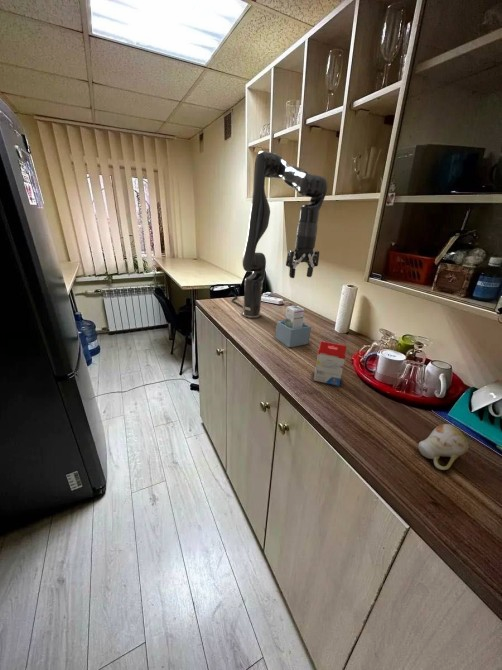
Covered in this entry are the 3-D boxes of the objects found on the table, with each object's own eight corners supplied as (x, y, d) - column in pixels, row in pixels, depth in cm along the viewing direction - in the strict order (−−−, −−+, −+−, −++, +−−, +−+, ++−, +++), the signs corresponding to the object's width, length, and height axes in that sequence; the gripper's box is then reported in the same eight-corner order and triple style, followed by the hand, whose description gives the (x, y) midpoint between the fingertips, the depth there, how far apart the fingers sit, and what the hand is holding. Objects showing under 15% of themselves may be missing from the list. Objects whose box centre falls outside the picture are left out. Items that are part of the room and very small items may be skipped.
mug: (405, 447, 66) (425, 411, 66) (432, 459, 69) (451, 425, 69) (431, 466, 59) (453, 426, 59) (461, 479, 62) (482, 441, 61)
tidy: (275, 337, 123) (277, 321, 120) (294, 334, 128) (296, 318, 125) (288, 347, 114) (291, 330, 111) (308, 343, 119) (311, 326, 116)
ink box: (339, 379, 94) (348, 340, 88) (339, 386, 89) (348, 346, 84) (314, 373, 96) (321, 335, 90) (312, 380, 92) (319, 341, 86)
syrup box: (301, 340, 120) (305, 308, 114) (290, 342, 117) (294, 310, 111) (293, 335, 124) (297, 304, 119) (282, 337, 122) (286, 306, 116)
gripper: (314, 234, 110) (308, 274, 117) (285, 233, 104) (280, 276, 110) (327, 236, 104) (320, 278, 111) (297, 235, 98) (291, 280, 104)
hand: (300, 277), depth 110 cm, fingers open, 8 cm apart
